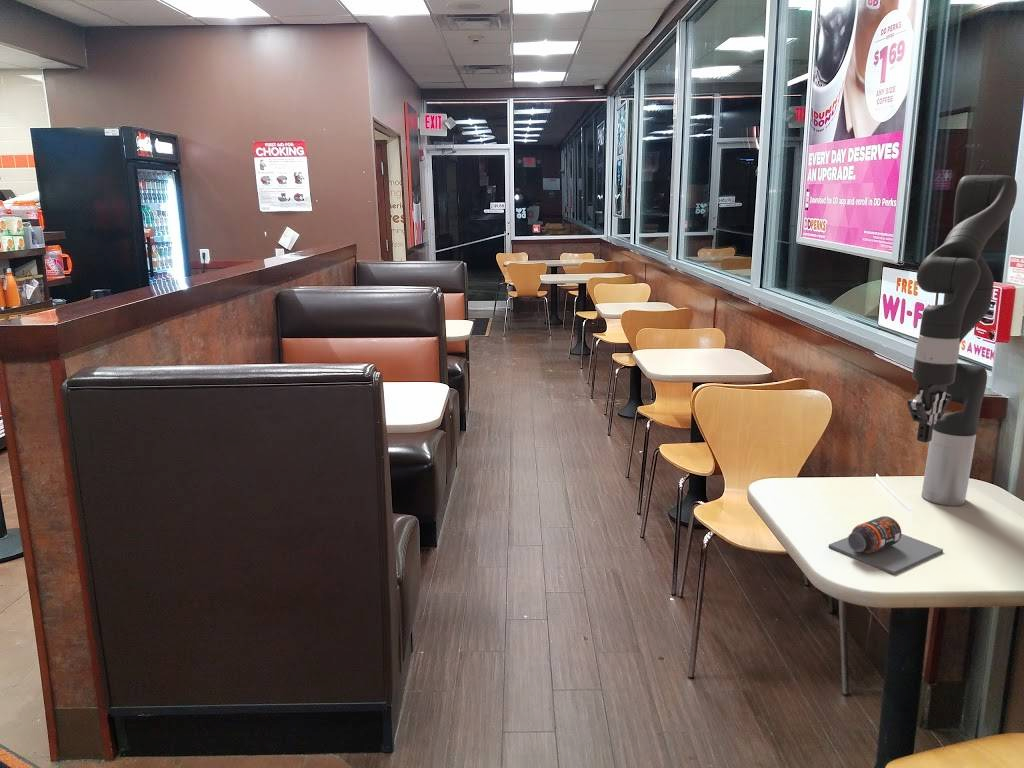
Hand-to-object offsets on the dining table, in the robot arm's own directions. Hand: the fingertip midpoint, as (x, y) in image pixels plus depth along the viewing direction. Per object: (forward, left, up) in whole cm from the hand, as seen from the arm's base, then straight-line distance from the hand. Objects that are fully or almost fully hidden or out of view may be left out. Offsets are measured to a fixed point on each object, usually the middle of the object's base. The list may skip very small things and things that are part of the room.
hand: (923, 440), depth 156 cm
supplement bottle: (+7, -1, -18) cm, 20 cm away
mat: (+9, 0, -22) cm, 24 cm away
